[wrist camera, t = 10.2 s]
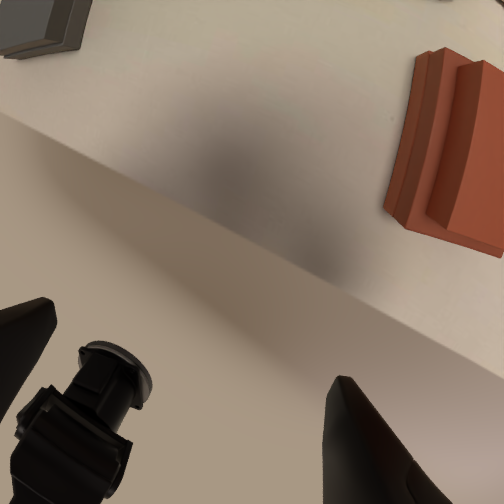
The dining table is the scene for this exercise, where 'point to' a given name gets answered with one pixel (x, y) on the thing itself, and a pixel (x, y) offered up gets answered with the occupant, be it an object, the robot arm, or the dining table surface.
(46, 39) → the grey books
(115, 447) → the robot arm
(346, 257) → the dining table surface
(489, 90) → the rust red rectangular block
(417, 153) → the rust books
